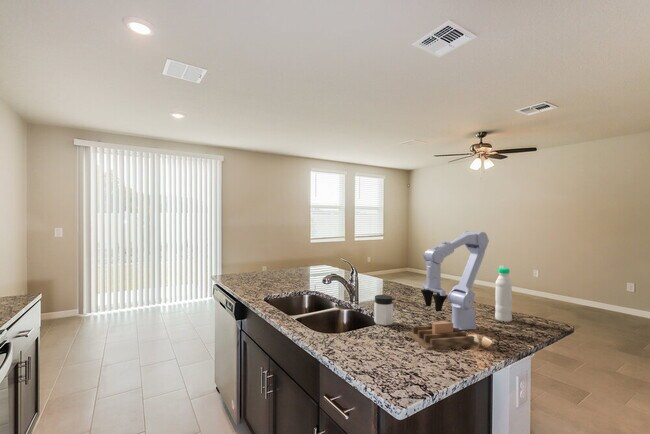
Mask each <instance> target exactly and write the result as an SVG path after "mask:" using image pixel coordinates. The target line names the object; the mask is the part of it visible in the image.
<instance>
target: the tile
mask: <svg viewBox="0 0 650 434" xmlns="http://www.w3.org/2000/svg"><path fill="white" fill-rule="evenodd" d="M431 325H432V334H438V333H452V332H453V323H452V321H434V322H431Z"/></svg>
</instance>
